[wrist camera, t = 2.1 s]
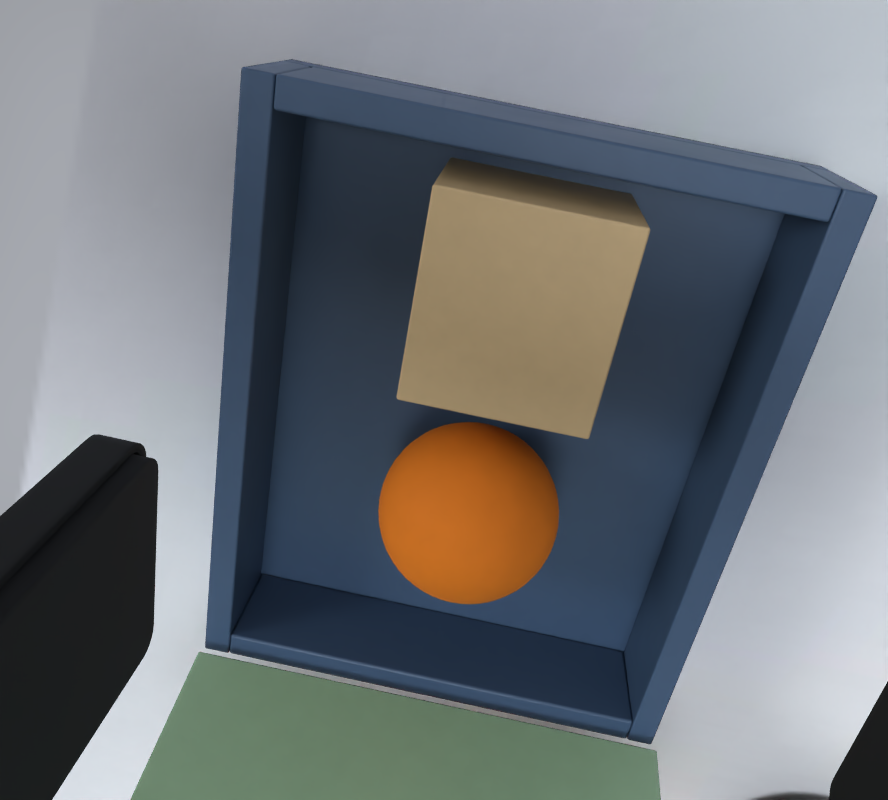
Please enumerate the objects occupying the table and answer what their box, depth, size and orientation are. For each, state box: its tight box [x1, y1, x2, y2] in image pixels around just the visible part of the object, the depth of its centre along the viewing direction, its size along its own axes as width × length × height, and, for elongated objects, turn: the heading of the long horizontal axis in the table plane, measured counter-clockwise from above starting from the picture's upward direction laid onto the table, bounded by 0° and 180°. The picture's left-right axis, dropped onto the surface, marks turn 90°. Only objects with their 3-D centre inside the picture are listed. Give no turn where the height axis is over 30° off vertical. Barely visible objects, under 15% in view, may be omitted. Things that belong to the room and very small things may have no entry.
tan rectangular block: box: [397, 158, 650, 439], centre depth 21 cm, size 6×5×4 cm
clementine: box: [378, 422, 559, 604], centre depth 23 cm, size 5×5×5 cm
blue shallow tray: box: [205, 59, 877, 744], centre depth 24 cm, size 18×15×4 cm
